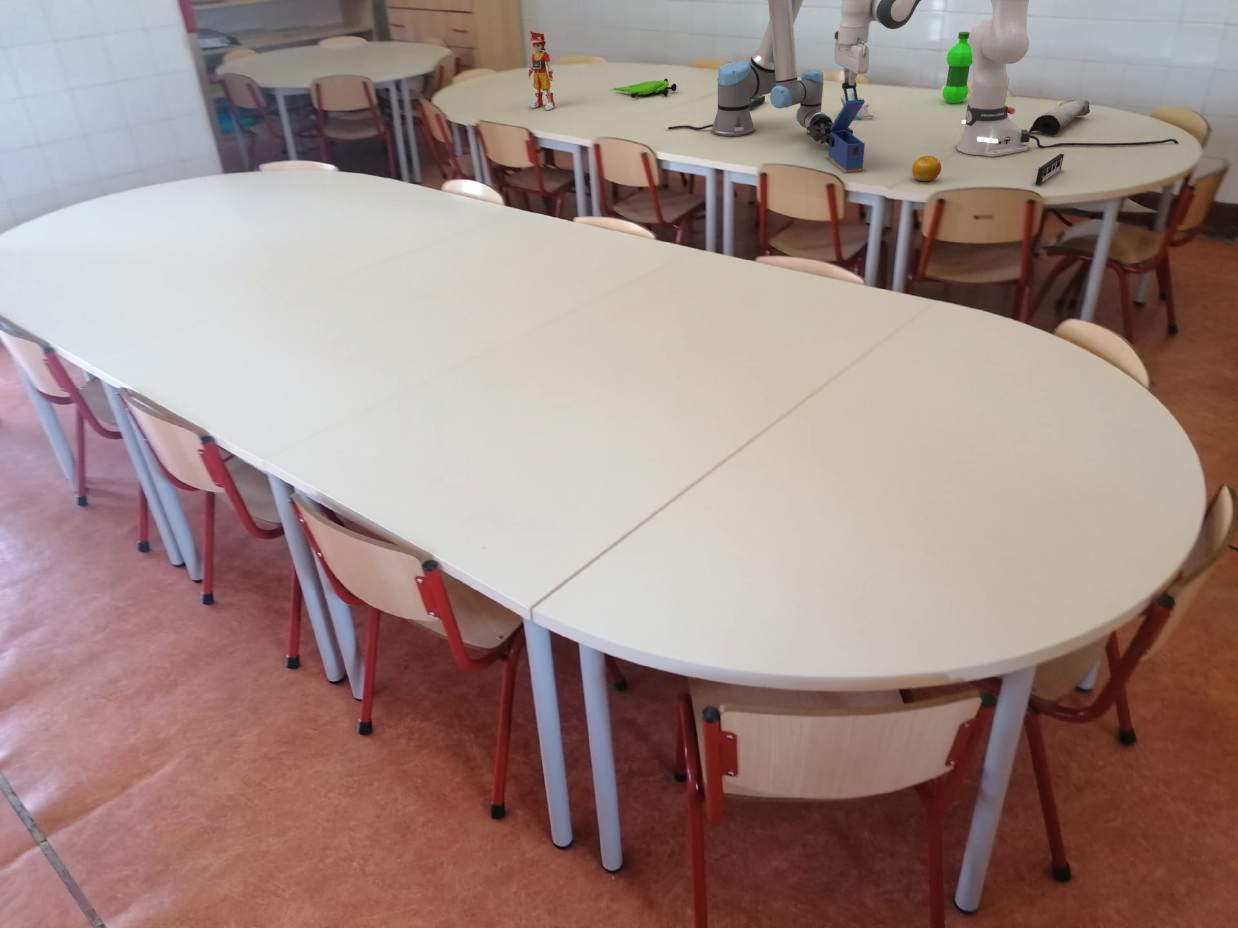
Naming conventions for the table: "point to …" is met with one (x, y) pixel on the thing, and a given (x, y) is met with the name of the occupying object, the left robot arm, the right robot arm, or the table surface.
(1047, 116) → the rolled mat
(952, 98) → the plastic bottle
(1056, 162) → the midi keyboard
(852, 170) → the chest
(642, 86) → the toy
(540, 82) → the toy
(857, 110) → the lid
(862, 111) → the anatomical model
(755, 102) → the disk drive
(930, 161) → the fruit
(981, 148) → the right robot arm
